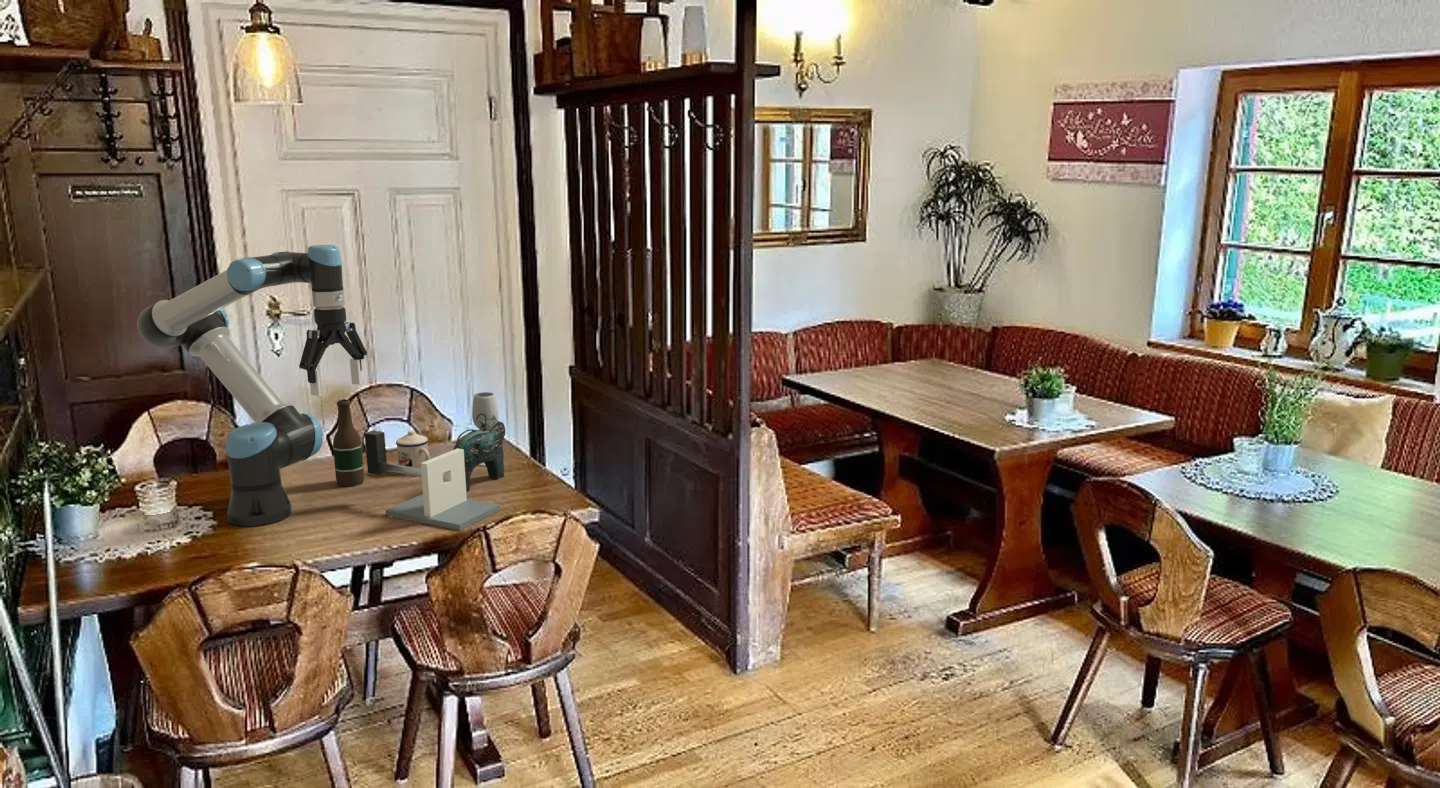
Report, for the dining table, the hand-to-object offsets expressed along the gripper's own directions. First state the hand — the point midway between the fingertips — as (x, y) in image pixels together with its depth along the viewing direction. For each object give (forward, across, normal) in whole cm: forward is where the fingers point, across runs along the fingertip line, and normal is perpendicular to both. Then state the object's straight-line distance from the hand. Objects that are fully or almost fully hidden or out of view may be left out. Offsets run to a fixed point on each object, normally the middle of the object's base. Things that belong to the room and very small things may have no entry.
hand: (337, 389), depth 259 cm
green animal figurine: (+32, +30, -20) cm, 48 cm away
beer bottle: (+32, +15, +14) cm, 38 cm away
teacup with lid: (+32, +32, +5) cm, 45 cm away
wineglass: (+32, +47, -9) cm, 58 cm away
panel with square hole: (+32, +7, -27) cm, 42 cm away
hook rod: (+24, +7, -14) cm, 28 cm away
